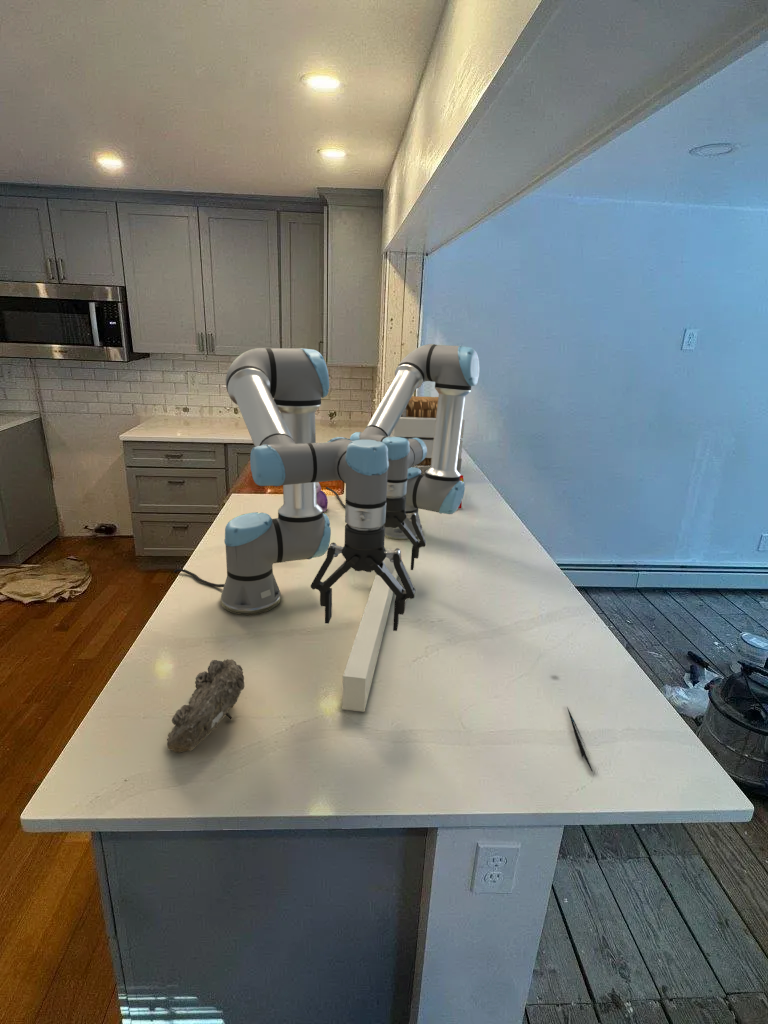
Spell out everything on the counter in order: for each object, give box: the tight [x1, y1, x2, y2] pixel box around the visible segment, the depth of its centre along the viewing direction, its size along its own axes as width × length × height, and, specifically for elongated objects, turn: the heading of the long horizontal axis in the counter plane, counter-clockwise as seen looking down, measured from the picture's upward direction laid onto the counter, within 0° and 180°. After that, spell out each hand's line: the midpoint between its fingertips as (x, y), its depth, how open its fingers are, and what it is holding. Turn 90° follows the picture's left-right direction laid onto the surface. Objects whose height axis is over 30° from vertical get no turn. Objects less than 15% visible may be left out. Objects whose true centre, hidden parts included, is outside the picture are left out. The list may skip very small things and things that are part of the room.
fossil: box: [166, 658, 245, 754], centre depth 106 cm, size 22×10×15 cm
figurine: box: [316, 482, 329, 513], centre depth 216 cm, size 9×10×15 cm
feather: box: [554, 675, 593, 772], centre depth 111 cm, size 2×28×2 cm
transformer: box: [390, 395, 465, 475], centre depth 268 cm, size 34×33×41 cm
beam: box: [341, 548, 399, 713], centre depth 140 cm, size 63×4×8 cm, turn 173°
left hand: (361, 623), depth 113 cm, fingers open, 13 cm apart
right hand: (388, 565), depth 161 cm, fingers open, 13 cm apart
